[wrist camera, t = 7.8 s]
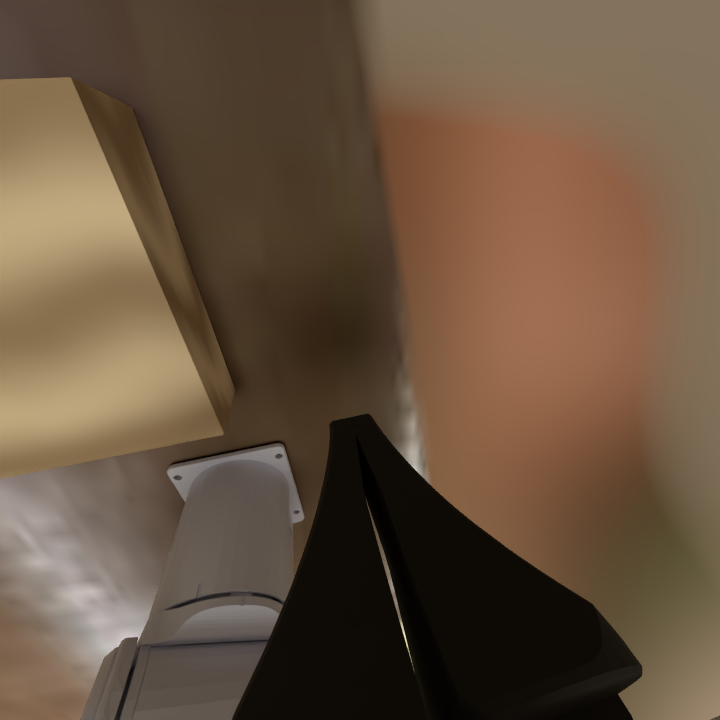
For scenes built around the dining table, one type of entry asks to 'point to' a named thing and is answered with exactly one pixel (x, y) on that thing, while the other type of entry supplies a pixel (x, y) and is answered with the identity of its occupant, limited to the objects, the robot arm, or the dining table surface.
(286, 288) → the dining table surface
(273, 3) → the dining table surface
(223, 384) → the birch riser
